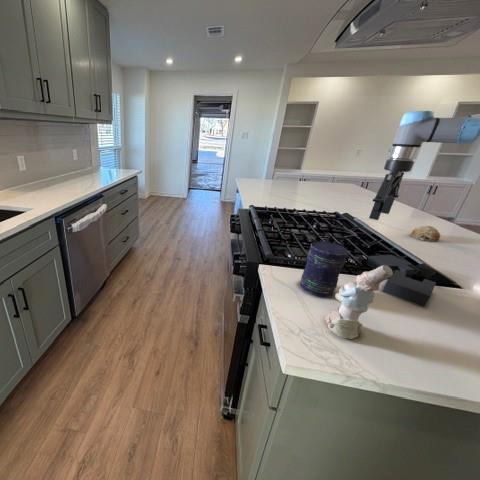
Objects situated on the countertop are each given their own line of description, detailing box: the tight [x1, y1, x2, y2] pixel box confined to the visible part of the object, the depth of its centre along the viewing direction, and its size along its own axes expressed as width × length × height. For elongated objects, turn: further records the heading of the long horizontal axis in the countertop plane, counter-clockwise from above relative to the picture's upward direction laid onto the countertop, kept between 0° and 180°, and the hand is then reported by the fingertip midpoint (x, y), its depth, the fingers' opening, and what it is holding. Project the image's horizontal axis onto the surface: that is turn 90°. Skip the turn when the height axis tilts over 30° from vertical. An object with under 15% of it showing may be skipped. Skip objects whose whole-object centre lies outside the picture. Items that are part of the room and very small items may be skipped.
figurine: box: [325, 265, 393, 340], centre depth 62 cm, size 9×8×20 cm
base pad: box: [382, 270, 437, 308], centre depth 81 cm, size 10×12×4 cm
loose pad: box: [365, 254, 416, 279], centre depth 94 cm, size 10×11×4 cm
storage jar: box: [299, 240, 349, 299], centre depth 80 cm, size 10×10×15 cm
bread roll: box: [410, 225, 441, 243], centre depth 126 cm, size 10×10×8 cm
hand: (379, 216), depth 99 cm, fingers open, 13 cm apart
